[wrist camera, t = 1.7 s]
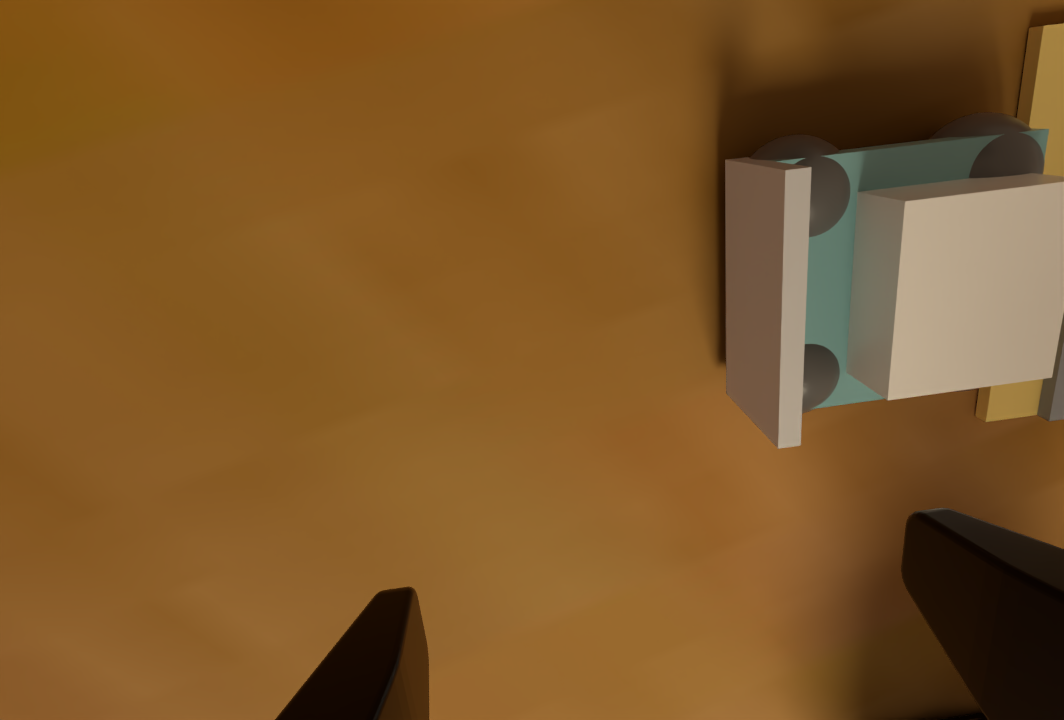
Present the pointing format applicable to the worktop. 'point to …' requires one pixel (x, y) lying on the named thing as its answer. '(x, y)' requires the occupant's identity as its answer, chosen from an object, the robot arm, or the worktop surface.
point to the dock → (1058, 105)
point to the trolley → (890, 269)
